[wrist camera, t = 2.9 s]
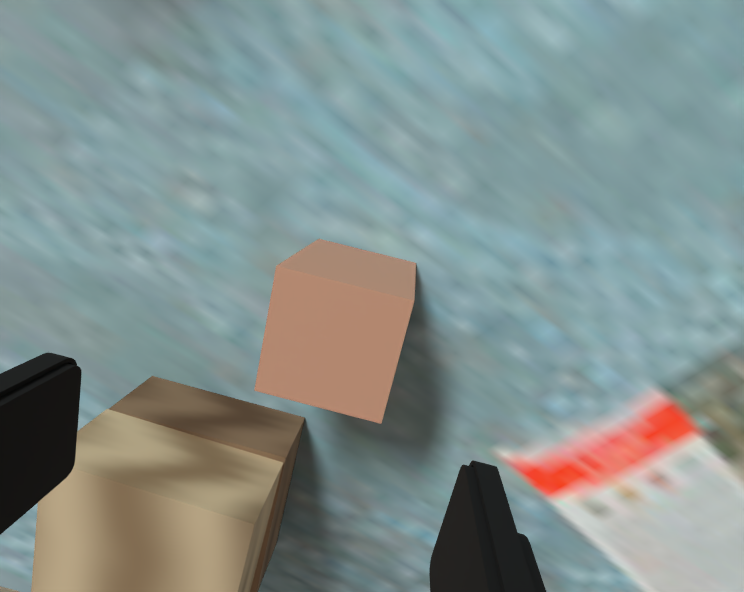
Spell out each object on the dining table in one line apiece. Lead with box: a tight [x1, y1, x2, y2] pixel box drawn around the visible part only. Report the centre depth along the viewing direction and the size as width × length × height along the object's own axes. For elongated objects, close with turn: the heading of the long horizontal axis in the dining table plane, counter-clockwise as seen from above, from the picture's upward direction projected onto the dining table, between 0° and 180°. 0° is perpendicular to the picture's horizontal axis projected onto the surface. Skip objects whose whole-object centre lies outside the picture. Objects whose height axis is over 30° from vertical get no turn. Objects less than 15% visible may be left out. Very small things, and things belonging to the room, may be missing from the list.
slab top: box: [31, 409, 283, 592], centre depth 21 cm, size 9×9×4 cm
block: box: [254, 239, 416, 424], centre depth 20 cm, size 5×5×7 cm
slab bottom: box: [109, 376, 305, 592], centre depth 25 cm, size 9×9×4 cm
